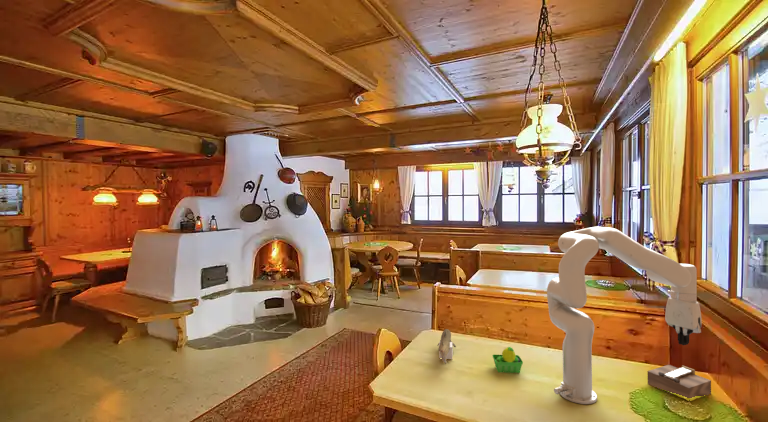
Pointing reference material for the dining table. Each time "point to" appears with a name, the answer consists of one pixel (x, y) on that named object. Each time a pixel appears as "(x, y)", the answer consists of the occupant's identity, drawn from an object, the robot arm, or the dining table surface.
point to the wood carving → (446, 346)
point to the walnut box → (679, 382)
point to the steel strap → (677, 373)
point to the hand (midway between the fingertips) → (683, 344)
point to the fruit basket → (508, 361)
